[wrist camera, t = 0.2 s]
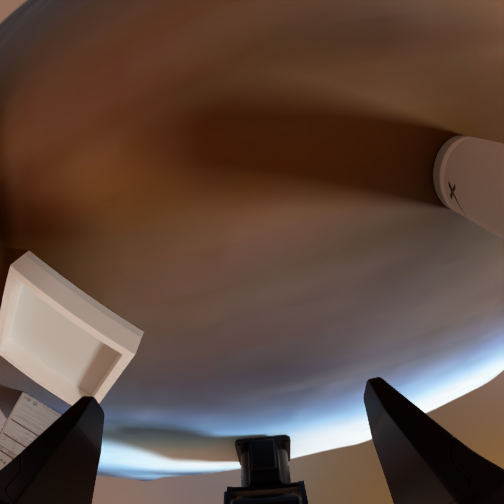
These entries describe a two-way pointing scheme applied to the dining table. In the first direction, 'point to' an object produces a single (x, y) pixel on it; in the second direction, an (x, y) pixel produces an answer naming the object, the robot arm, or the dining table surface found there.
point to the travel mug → (472, 180)
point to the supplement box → (24, 426)
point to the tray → (62, 333)
